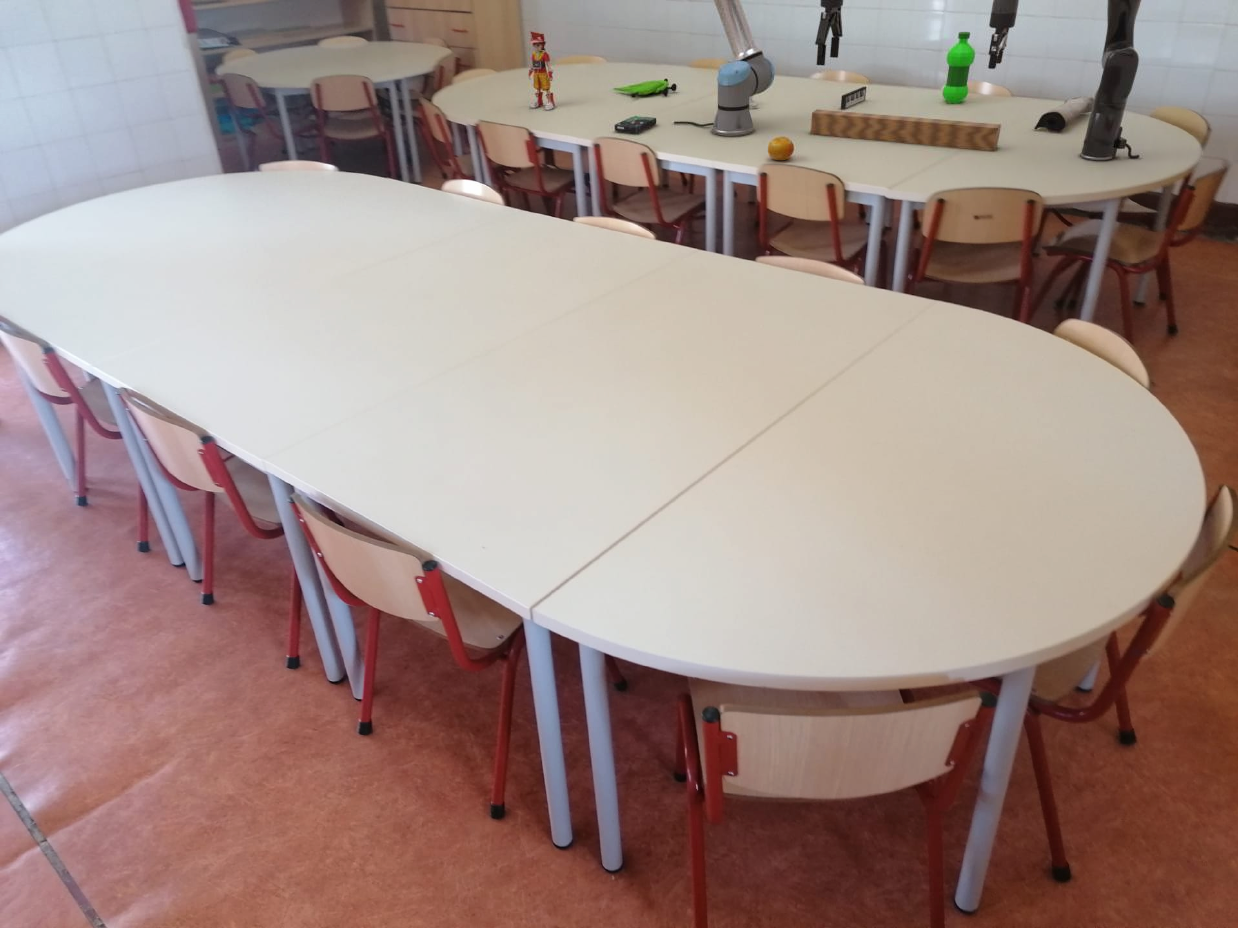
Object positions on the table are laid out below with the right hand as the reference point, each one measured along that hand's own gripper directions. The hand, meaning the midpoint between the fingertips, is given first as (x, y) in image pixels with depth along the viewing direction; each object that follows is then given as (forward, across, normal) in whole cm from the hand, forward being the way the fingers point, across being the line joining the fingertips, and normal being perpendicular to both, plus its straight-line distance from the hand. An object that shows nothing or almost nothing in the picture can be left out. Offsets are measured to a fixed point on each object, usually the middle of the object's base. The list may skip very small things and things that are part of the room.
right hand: (994, 66), depth 289 cm
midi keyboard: (+26, +43, +59) cm, 78 cm away
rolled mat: (+26, +41, -20) cm, 53 cm away
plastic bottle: (+26, +59, +23) cm, 68 cm away
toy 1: (+26, -1, +180) cm, 182 cm away
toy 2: (+26, +37, +153) cm, 160 cm away
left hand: (+1, 0, +56) cm, 56 cm away
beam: (+26, 0, +27) cm, 38 cm away
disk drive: (+26, -18, +125) cm, 129 cm away
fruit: (+26, -36, +58) cm, 73 cm away
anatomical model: (+26, +28, +101) cm, 108 cm away
